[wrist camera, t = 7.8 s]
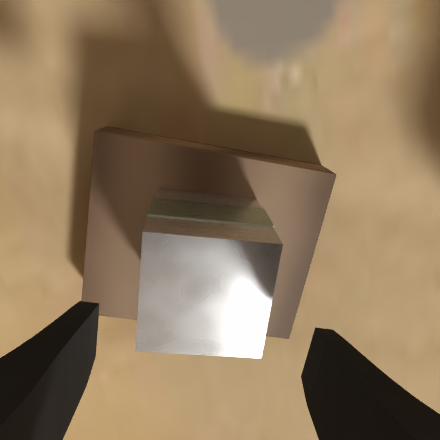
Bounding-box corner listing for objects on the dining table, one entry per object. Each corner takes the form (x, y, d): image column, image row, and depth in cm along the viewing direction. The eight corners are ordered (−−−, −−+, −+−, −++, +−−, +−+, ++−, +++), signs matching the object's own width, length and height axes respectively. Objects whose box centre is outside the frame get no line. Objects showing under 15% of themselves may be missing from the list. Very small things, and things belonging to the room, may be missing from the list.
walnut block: (318, 163, 22) (336, 174, 19) (278, 310, 25) (288, 338, 22) (108, 125, 20) (94, 131, 18) (94, 286, 24) (80, 313, 21)
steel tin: (257, 197, 19) (284, 243, 14) (243, 286, 21) (262, 359, 15) (157, 187, 19) (141, 230, 13) (150, 278, 20) (133, 352, 15)
